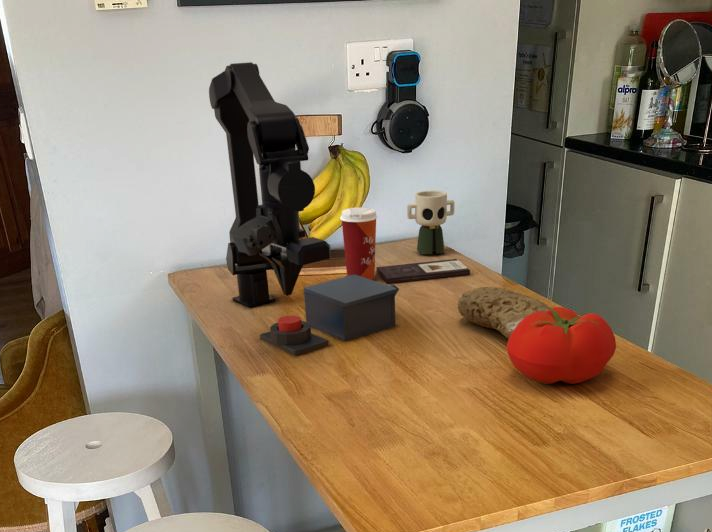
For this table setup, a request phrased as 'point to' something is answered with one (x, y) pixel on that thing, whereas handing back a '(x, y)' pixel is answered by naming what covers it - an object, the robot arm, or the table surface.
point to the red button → (289, 323)
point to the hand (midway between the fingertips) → (287, 294)
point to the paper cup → (359, 240)
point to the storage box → (350, 316)
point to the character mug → (430, 219)
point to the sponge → (498, 308)
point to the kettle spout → (395, 287)
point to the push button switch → (294, 339)
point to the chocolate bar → (422, 270)
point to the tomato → (561, 346)
